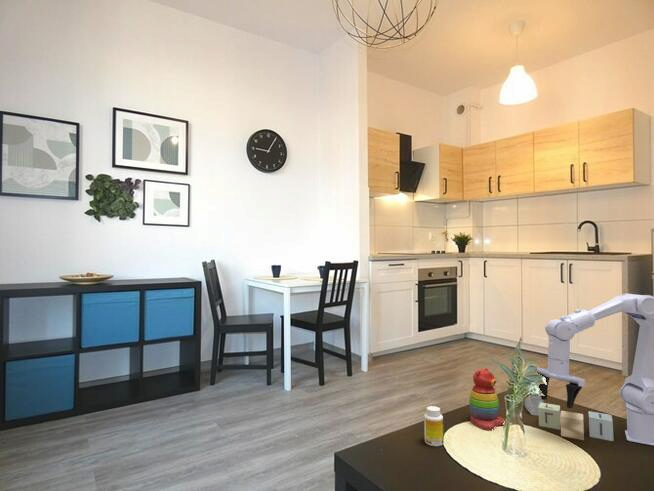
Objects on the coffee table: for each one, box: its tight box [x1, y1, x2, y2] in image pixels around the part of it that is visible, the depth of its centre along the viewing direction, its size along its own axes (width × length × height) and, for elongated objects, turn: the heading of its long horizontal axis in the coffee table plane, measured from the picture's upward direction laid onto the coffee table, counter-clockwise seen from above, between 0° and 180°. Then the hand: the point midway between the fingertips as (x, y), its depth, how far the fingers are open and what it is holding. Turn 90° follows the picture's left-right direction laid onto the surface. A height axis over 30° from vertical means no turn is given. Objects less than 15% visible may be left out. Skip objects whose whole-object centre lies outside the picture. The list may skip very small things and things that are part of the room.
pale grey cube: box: [588, 410, 614, 442], centre depth 122 cm, size 6×6×6 cm
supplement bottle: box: [423, 405, 444, 447], centre depth 118 cm, size 6×6×10 cm
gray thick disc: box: [524, 395, 545, 417], centre depth 142 cm, size 8×4×9 cm, turn 168°
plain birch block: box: [560, 410, 585, 441], centre depth 123 cm, size 6×6×6 cm
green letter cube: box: [538, 402, 561, 431], centre depth 131 cm, size 6×6×6 cm
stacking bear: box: [468, 367, 506, 431], centre depth 133 cm, size 11×10×18 cm
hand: (556, 403), depth 121 cm, fingers open, 7 cm apart
